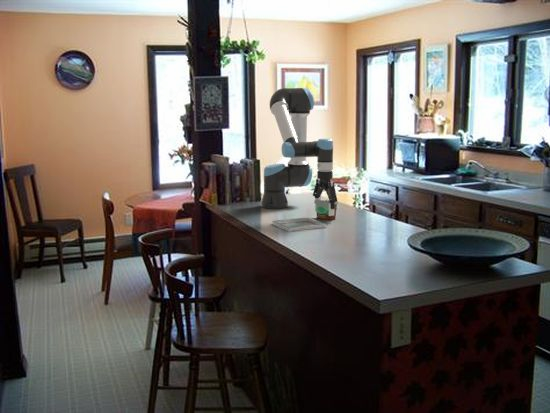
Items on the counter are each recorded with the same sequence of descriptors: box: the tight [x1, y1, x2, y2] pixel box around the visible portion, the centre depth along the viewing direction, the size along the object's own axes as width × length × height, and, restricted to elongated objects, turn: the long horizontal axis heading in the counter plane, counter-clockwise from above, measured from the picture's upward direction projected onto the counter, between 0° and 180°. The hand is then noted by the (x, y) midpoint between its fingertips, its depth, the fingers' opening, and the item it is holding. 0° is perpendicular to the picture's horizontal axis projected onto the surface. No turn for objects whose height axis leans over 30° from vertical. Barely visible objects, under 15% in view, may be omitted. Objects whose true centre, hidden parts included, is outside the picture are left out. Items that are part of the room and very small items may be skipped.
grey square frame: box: [271, 216, 327, 232], centre depth 285 cm, size 18×20×2 cm
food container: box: [313, 198, 339, 222], centre depth 298 cm, size 12×6×10 cm, turn 66°
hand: (324, 213), depth 298 cm, fingers open, 13 cm apart
